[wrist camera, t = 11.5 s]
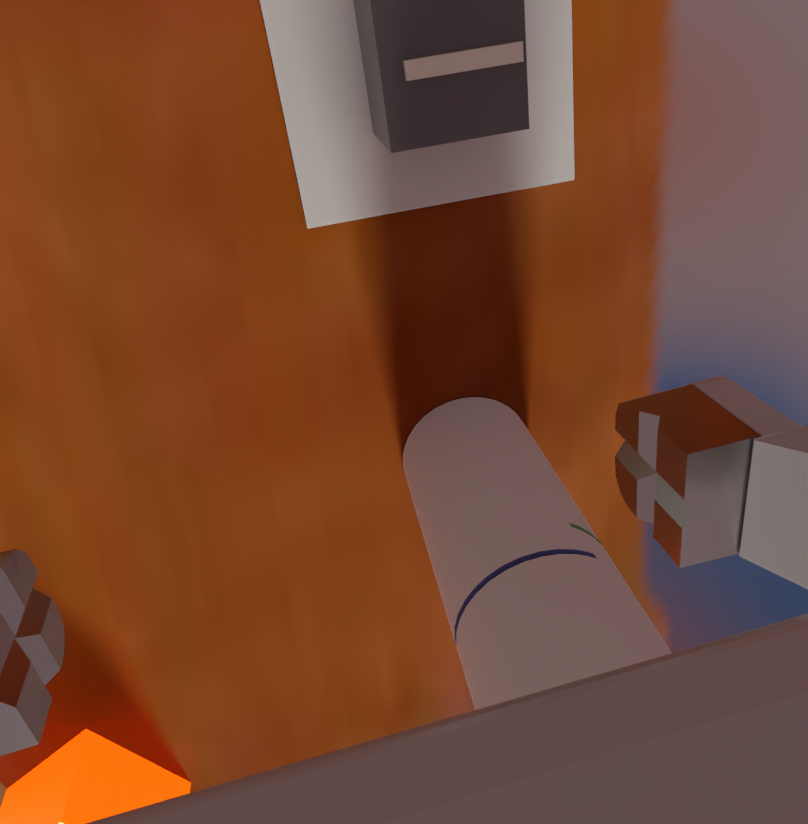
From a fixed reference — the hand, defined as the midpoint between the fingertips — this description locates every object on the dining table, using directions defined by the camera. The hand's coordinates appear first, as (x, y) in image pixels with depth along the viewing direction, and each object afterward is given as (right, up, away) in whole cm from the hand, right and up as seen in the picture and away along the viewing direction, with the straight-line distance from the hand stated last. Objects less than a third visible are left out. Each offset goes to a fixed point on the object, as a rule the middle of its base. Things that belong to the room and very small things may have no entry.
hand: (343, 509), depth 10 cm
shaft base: (+1, +16, +19) cm, 25 cm away
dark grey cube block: (+2, +15, +18) cm, 24 cm away
